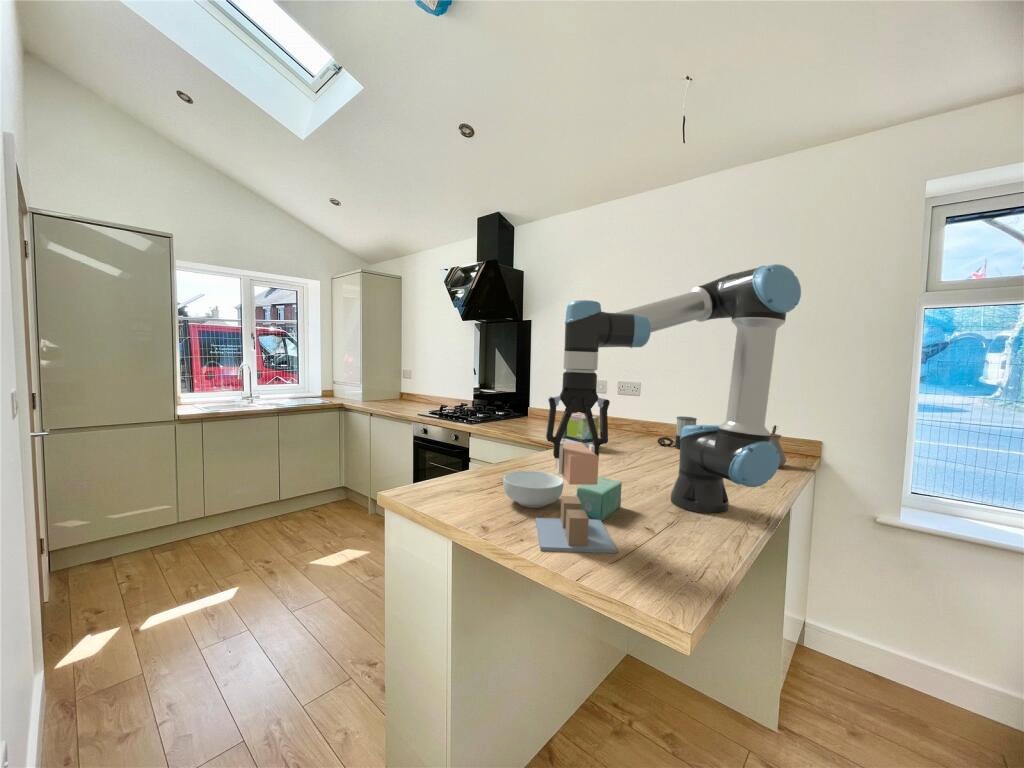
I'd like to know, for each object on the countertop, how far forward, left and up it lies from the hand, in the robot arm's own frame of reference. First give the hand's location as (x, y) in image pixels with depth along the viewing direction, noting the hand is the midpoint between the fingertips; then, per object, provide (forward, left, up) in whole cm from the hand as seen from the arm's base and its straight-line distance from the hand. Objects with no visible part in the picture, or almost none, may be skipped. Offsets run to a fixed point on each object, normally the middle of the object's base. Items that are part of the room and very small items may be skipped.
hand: (575, 472), depth 94 cm
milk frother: (-67, -106, -15) cm, 126 cm away
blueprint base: (0, 0, -15) cm, 15 cm away
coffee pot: (-95, -79, -15) cm, 124 cm away
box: (-10, -17, -15) cm, 24 cm away
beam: (0, 0, -1) cm, 1 cm away
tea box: (-18, -99, -15) cm, 102 cm away
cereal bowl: (+8, -21, -15) cm, 27 cm away
